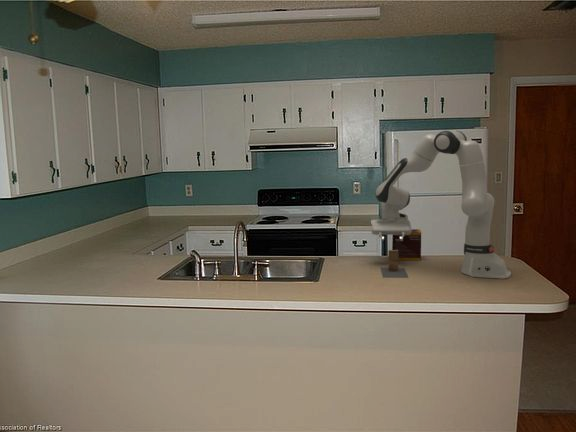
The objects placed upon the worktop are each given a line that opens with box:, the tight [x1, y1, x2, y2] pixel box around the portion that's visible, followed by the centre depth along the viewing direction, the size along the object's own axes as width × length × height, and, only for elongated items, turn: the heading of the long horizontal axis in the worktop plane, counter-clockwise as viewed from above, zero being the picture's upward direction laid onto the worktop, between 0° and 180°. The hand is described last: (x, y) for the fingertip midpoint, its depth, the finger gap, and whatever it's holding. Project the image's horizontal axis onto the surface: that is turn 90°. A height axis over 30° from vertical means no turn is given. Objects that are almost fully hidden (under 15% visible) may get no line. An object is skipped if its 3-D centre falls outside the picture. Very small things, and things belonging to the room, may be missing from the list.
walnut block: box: [387, 249, 399, 271], centre depth 257 cm, size 4×4×10 cm
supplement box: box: [391, 228, 422, 262], centre depth 284 cm, size 10×15×16 cm
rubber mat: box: [380, 266, 409, 279], centre depth 254 cm, size 20×12×1 cm, turn 173°
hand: (391, 240), depth 265 cm, fingers open, 8 cm apart
